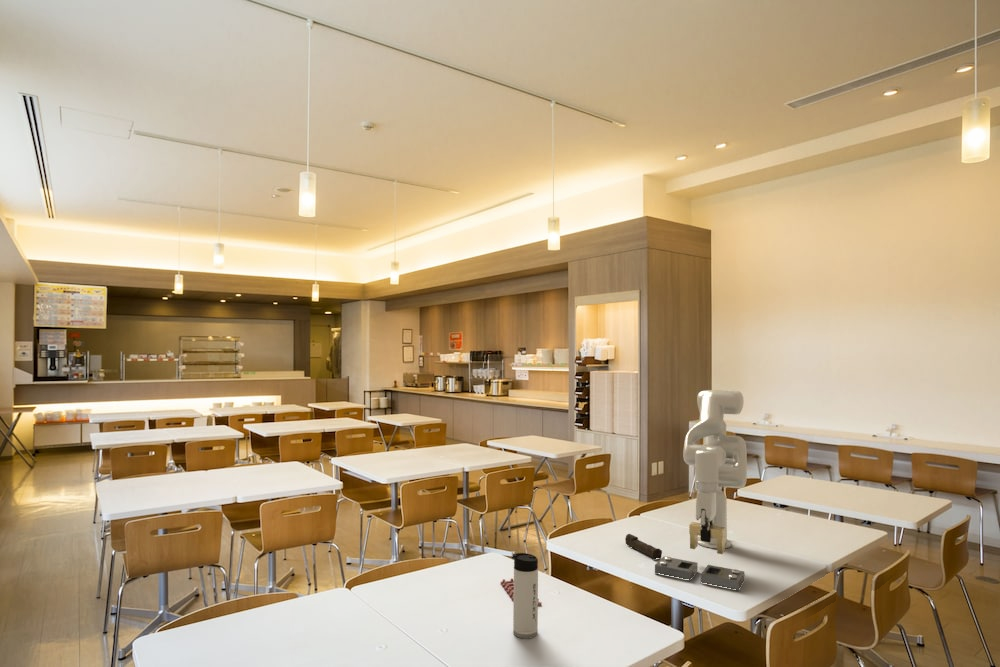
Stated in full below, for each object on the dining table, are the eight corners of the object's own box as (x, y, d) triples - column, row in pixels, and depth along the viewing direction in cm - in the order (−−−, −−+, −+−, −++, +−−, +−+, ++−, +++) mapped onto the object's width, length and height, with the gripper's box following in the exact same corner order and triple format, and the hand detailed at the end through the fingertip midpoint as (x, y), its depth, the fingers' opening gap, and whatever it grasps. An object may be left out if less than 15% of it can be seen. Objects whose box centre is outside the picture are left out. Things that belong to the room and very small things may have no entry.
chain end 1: (663, 565, 203) (663, 554, 203) (697, 571, 197) (697, 560, 197) (654, 574, 195) (654, 563, 195) (689, 581, 189) (689, 569, 189)
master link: (692, 544, 207) (692, 521, 207) (725, 550, 201) (725, 527, 201) (689, 548, 204) (689, 525, 204) (722, 554, 198) (722, 530, 198)
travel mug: (510, 628, 155) (511, 550, 156) (535, 627, 155) (536, 550, 156) (513, 639, 149) (513, 559, 149) (539, 638, 149) (539, 558, 150)
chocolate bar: (518, 611, 167) (518, 603, 167) (500, 585, 185) (500, 579, 185) (542, 608, 169) (542, 601, 169) (522, 583, 187) (522, 577, 187)
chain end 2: (738, 591, 181) (738, 579, 181) (700, 583, 187) (700, 571, 187) (744, 581, 189) (744, 569, 189) (708, 573, 195) (708, 562, 195)
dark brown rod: (662, 559, 209) (662, 546, 210) (653, 561, 208) (653, 547, 208) (632, 544, 227) (632, 531, 227) (623, 545, 226) (623, 532, 226)
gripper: (701, 479, 212) (701, 530, 212) (689, 489, 198) (689, 544, 197) (723, 482, 208) (723, 534, 208) (712, 492, 194) (713, 548, 193)
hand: (707, 538), depth 203 cm, fingers closed on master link, 4 cm apart
